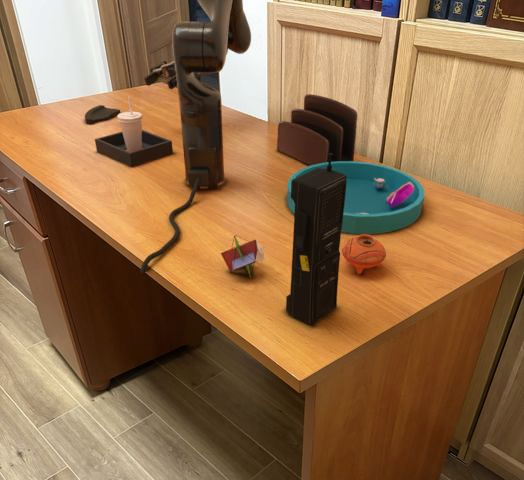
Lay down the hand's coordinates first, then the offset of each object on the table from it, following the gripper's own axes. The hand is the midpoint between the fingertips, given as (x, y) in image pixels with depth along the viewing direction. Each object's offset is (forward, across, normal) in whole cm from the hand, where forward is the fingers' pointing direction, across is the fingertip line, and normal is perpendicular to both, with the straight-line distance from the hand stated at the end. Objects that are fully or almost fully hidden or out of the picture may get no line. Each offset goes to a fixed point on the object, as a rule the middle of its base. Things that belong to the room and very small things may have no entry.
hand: (157, 83), depth 139 cm
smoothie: (+13, -2, +13) cm, 19 cm away
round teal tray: (+5, +60, +18) cm, 63 cm away
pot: (+28, +75, +14) cm, 82 cm away
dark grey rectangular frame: (+13, -2, +13) cm, 18 cm away
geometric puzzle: (+42, +59, +10) cm, 73 cm away
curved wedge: (-2, -34, +14) cm, 37 cm away
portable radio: (+46, +75, +11) cm, 89 cm away
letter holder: (-13, +38, +21) cm, 45 cm away
